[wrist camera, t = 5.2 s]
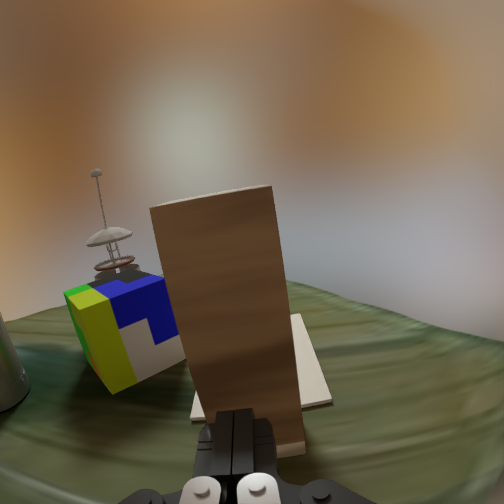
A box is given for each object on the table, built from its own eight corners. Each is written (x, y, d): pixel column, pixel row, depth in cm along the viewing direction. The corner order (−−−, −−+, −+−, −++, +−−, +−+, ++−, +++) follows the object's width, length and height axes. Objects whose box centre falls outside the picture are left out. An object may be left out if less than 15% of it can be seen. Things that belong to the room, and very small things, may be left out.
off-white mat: (331, 401, 24) (331, 398, 24) (191, 420, 24) (190, 417, 24) (300, 316, 41) (299, 313, 41) (210, 329, 42) (210, 327, 42)
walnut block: (306, 453, 19) (271, 185, 15) (222, 463, 19) (149, 207, 15) (298, 414, 23) (265, 184, 19) (225, 424, 23) (170, 201, 19)
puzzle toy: (187, 358, 35) (165, 278, 33) (112, 395, 29) (79, 310, 26) (150, 335, 42) (131, 268, 40) (88, 362, 36) (63, 291, 34)
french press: (101, 334, 44) (61, 173, 39) (104, 311, 55) (73, 179, 49) (160, 319, 48) (125, 158, 42) (152, 298, 58) (124, 167, 53)
